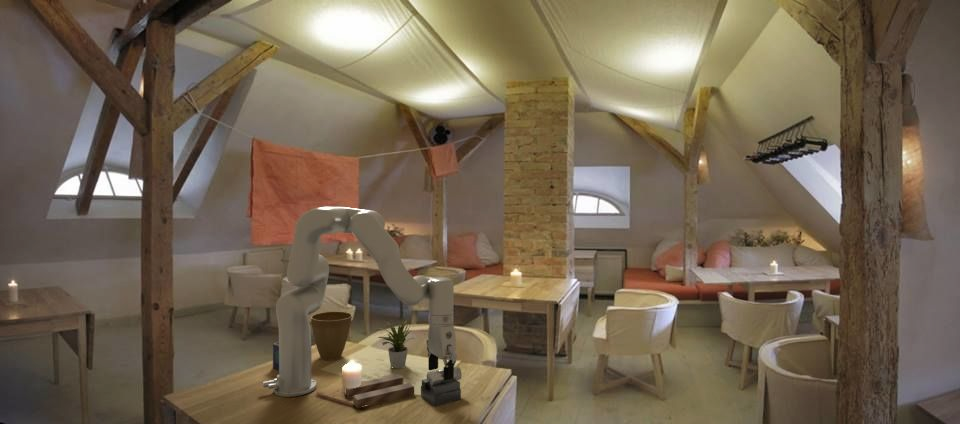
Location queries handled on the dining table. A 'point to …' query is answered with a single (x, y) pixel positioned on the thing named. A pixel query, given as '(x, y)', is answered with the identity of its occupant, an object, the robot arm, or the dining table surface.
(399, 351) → the house plant
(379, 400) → the parallel rectangular beams
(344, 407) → the dining table surface
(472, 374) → the dining table surface
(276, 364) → the flask
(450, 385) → the v-block
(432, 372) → the axle
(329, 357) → the plant pot
